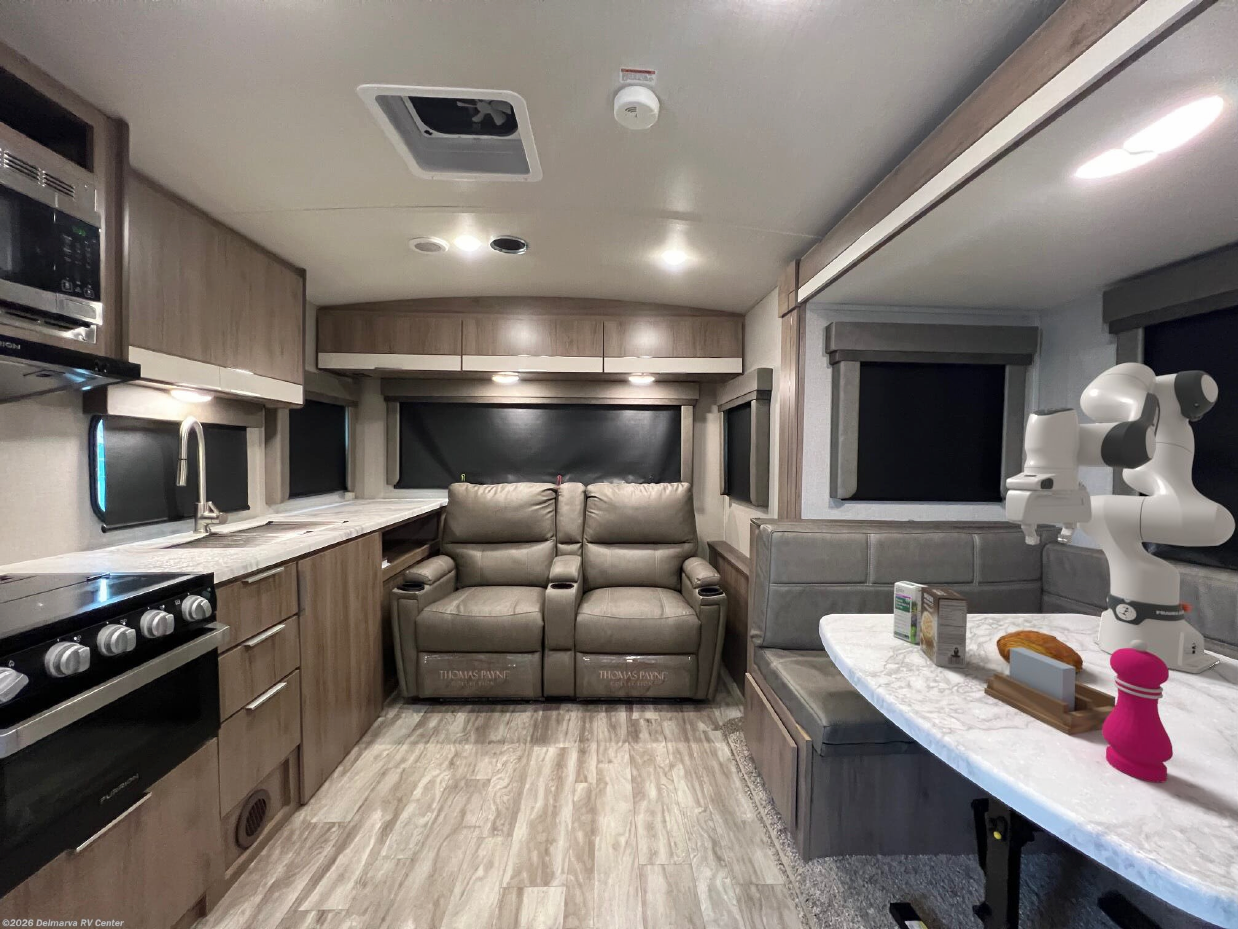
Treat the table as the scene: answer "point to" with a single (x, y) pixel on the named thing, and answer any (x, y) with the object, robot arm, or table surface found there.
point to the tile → (1043, 674)
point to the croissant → (1039, 647)
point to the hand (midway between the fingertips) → (1048, 543)
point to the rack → (1054, 704)
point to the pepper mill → (1138, 715)
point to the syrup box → (907, 611)
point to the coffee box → (943, 626)
